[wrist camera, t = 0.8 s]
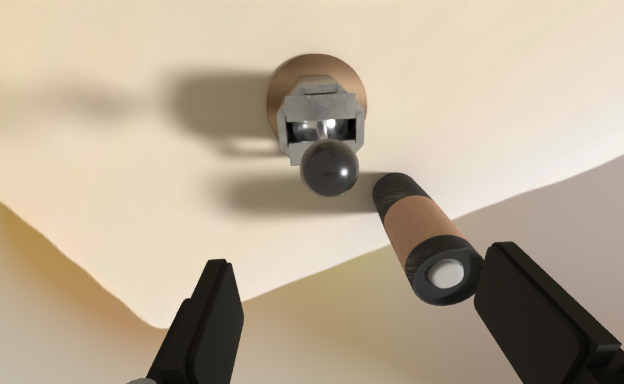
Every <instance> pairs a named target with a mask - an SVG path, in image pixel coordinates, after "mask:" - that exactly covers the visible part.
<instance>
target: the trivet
mask: <svg viewBox="0 0 624 384" xmlns="http://www.w3.org/2000/svg"><path fill="white" fill-rule="evenodd" d="M317 75H330V76H331V77H332V78H333V79H334V80H336V81H337V82H338V83H339V84H340V85H341V86H342V87H343V88H344V89H345V90H346V91H347V92H355V93H356V101H357V102H358V103H359V104H360V105H361V106H362V107H363V108H364V110H365V116H364V121H365V117H366V112H367V98H366V92H365V89H364V86H363V84H362V82H361V80H360V78H359V76H358V75H357V74H356V72H355V71H354V70H353V69H352V68H351V67H350V66H349V65H348V64H346V63H345V62H343V61H342V60H340V59H338V58H336V57H333V56H330V55H324V54H311V55H305V56H302V57H299V58H297V59H295V60H293V61H291V62H290V63H288V64H287V65H286V66H285V67H283V68H282V70H281V71H280V72H279V73H278V74H277V76H276V77H275V79H274V80H273V82H272V84H271V87H270V90H269V93H268V98H267V114H268V119H269V123H270V125H271V128H272V130H273V132H274V133H275V135H276V136H277V138H278V139H279V133H278V124H277V112H278V110H279V108H280V106H281V104H282V102H283V100H284V98H285V96H286V95H287V94H288V93H289V91H290V90H291V89H292V88H293V87H294V85H295V84H296V83H297V82H298V81H299V79H300V78H301V77H302V76H317Z"/></svg>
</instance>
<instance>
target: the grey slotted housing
mask: <svg viewBox="0 0 624 384" xmlns="http://www.w3.org/2000/svg"><path fill="white" fill-rule="evenodd" d="M364 116H365V110H364V108H363V107H362V106H361V105H360V104H359V103H358V102H357V101H356V93H355V92H347V91H346V90H345V89H344V88H343V87H342V86H341V85H340V84H339V83H338V82H337V81H336V80H334V79H333V78H332V77H331V76H330V75H317V76H302V77H301V78H300V79H299V81H298V82H297V83H296V84H295V85H294V87H293V88H292V89H291V90H290V91H289V93H288V94H287V95H286V96H285V98H284V100H283V102H282V104H281V106H280V108H279V110H278V112H277V124H278V133H279V143H280V149H281V151H283V152H284V153H285V154H286V155H288V156H289V157H290V164H291V166H296V165H300V162H301V158H302V156H303V154H304V152H305V151H306V150H307V148H308V147H309V146H310V145H312V144H313V143H315V142H317V141H301V142H298V141H297V139H296V138H295V135H294V132H293V122H298V121H316V120H334V119H348V131H347V134H346V137H345V139H337V140H340V141H342V142H344V143H346V144H347V145H349V146H350V147H351V148H352V150H353V151H354V152H355V153H356V152H357V151H358V150H359V149H360V148H361V147H362V146H363V144H364Z"/></svg>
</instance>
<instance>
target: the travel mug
mask: <svg viewBox="0 0 624 384" xmlns="http://www.w3.org/2000/svg"><path fill="white" fill-rule="evenodd" d="M373 200H374V203H375V206H376V208H377V211H378V213H379V216H380V219H381V221H382V224H383V226H384V229H385V231H386V234H387V236H388V238H389V240H390V242H391V244H392V246H393V248H394V250H395V252H396V255H397V257H398V259H399V261H400V263H401V265H402V268H403V269H404V272H405V274H406V276H407V278H408V280H409V282H410V285H411V287H412V289H413V291H414V292H415V294H416V295H417V296H418V297H419V298H420V299H421V300H422V301H424V302H426V303H428V304H431V305H436V306H447V305H453V304H457V303H460V302H462V301H464V300H466V299H468V298H470V297H471V296H472V295H474V294H475V293H476V290H477V286H478V282H479V278H480V275H481V271H482V267H483V263H484V259H483V258H482V256H480V255H479V254H478V252H477V251H476V250H475V249H474V248H473V247H472V246H471V244H470V243H469V242H468V241H467V239H466V238H465V237H464V236H463V235H462V234H461V232H460V231H459V230H458V229H457V228H456V226H455V225H454V224H453V223H452V222H451V220H450V219H449V218H448V217H447V216H446V214H445V213H444V212H443V211H442V210H441V209H440V207H439V206H438V205H437V204H436V203H435V202H434V201H433V200H432V199H431V198H430V197H429V195H428V194H427V193H426V192H425V191H424V190H423V189H422V188H421V187H420V186H419V185H418V184H417V183H416V182H415V181H414V180H413V179H412V178H411V177H409V176H408V175H406V174H402V173H392V174H388V175H386V176H384V177H383V178H381V179H380V180H379V181H378V182H377V184H376V185H375V187H374V190H373Z"/></svg>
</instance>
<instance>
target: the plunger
mask: <svg viewBox="0 0 624 384" xmlns="http://www.w3.org/2000/svg"><path fill="white" fill-rule="evenodd" d="M347 131H348V119H334V120H316V121H298V122H293V132H294V135H295V138H296V139H297V141H298V142H301V141H317V142H315V143H313V144H312V145H310V146H309V147H308V148H307V150H306V151H305V152H304V154H303V156H302V158H301V162H300V175H301V178H302V181H303V183H304V184H305V186H306V187H307V188H308V189H309V190H310V191H311V192H312V193H314V194H316V195H318V196H321V197H326V198H333V197H338V196H341V195H343V194H345V193H346V192H348V191H349V190H350V189H351V188H352V187H353V185H354V184H355V182H356V180H357V177H358V173H359V163H358V159H357V156H356V154H355V152H354V151H353V150H352V148H351V147H350V146H349V145H347V144H346V143H344V142H342V141H340V140H337V139H345V137H346V134H347Z"/></svg>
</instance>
